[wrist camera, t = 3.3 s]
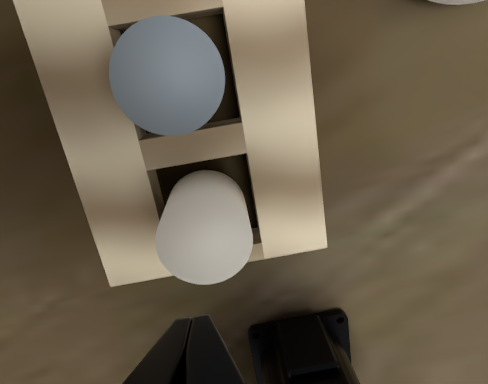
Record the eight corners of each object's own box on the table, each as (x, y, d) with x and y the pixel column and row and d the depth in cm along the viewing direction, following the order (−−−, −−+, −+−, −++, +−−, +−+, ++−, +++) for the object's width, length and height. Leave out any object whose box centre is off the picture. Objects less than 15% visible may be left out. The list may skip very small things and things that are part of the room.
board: (317, 231, 21) (327, 247, 19) (119, 267, 21) (110, 287, 19) (273, -200, 15) (281, -241, 13) (-16, -154, 14) (-52, -188, 12)
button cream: (251, 234, 19) (259, 275, 15) (177, 247, 19) (167, 292, 15) (238, 163, 18) (244, 188, 14) (159, 177, 18) (144, 206, 14)
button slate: (229, 113, 17) (233, 125, 13) (147, 127, 17) (126, 144, 13) (214, 21, 15) (213, 6, 12) (123, 37, 15) (94, 26, 12)
